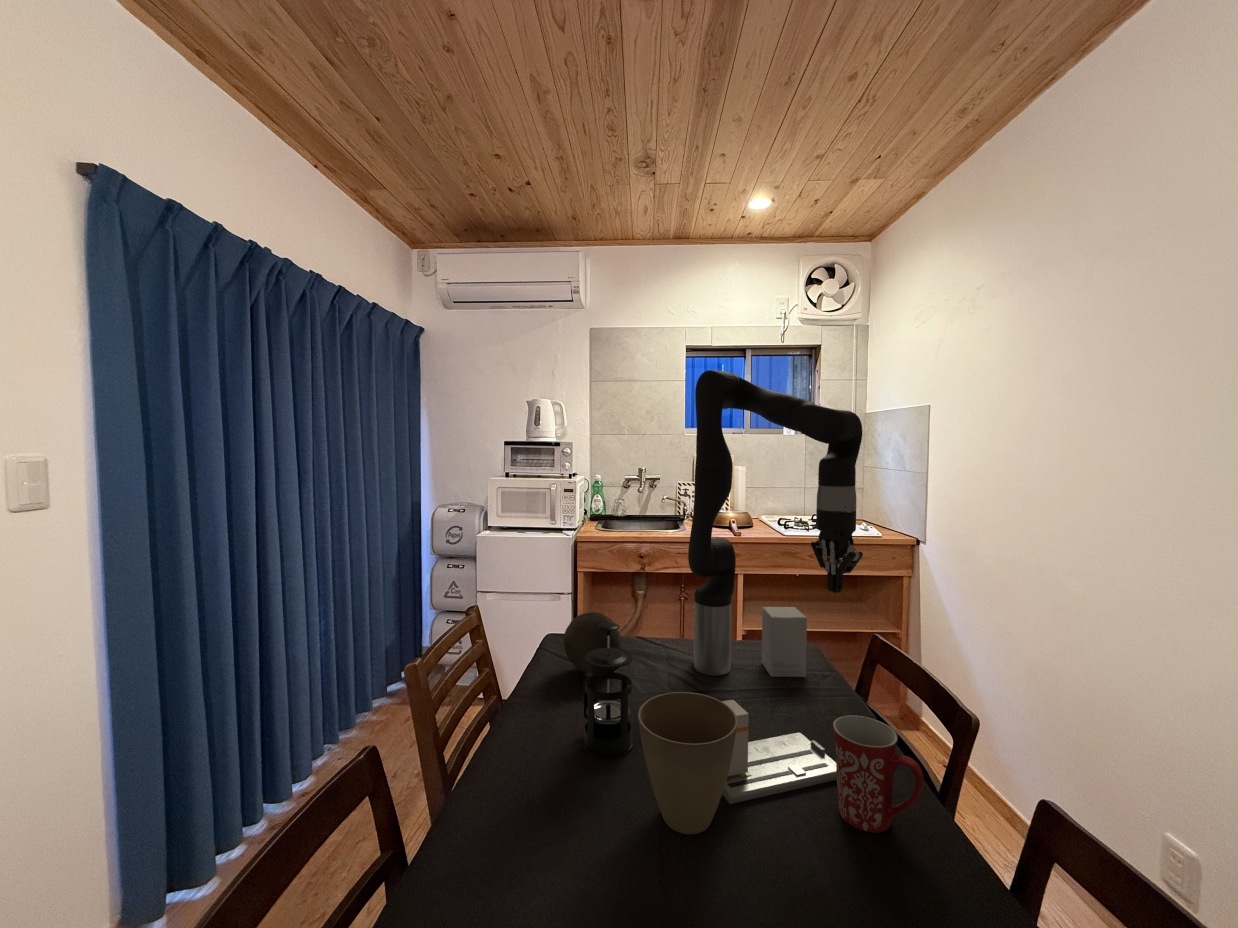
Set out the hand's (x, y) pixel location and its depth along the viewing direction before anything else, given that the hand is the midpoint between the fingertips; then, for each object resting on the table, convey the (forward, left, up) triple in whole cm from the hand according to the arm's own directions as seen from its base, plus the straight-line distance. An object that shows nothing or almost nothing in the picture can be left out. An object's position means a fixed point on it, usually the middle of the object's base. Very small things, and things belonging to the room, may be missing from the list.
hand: (834, 591), depth 106 cm
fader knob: (+10, -30, -25) cm, 40 cm away
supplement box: (-24, +5, -27) cm, 37 cm away
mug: (+26, -14, -27) cm, 40 cm away
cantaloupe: (-36, -42, -27) cm, 62 cm away
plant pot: (+17, -41, -27) cm, 52 cm away
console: (+10, -22, -27) cm, 36 cm away
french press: (-6, -47, -27) cm, 55 cm away
